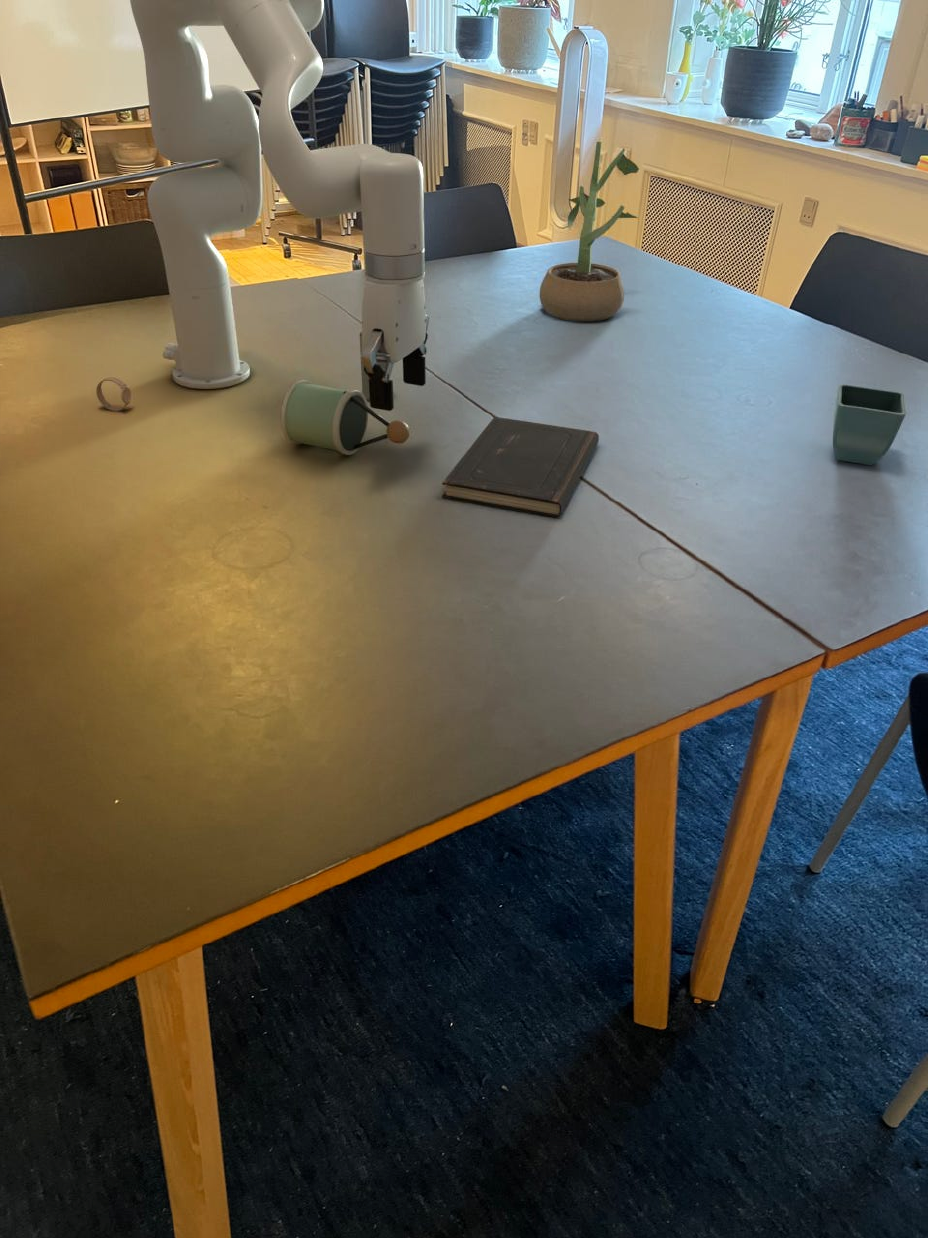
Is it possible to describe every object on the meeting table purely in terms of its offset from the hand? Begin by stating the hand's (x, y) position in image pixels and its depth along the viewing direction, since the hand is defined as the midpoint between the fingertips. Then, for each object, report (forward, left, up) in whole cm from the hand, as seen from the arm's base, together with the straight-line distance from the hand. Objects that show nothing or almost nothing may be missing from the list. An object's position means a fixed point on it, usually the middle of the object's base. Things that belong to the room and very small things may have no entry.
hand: (398, 395), depth 128 cm
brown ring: (-48, -2, -10) cm, 49 cm away
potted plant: (+2, +81, -10) cm, 82 cm away
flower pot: (+59, +30, -10) cm, 67 cm away
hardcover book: (+17, +5, -10) cm, 20 cm away
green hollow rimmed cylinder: (-8, 0, -10) cm, 12 cm away
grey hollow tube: (-14, +20, -10) cm, 27 cm away
